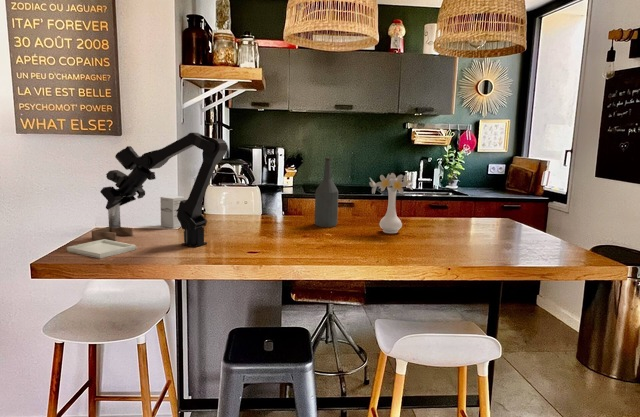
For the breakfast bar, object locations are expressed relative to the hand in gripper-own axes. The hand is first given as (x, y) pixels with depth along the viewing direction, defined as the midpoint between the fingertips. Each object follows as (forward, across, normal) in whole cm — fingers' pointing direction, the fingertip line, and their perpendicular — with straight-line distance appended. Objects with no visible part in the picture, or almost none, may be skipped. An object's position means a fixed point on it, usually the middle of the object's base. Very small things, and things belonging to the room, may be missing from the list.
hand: (110, 207), depth 173 cm
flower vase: (-61, -48, +78) cm, 110 cm away
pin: (+4, 0, +6) cm, 7 cm away
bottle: (-41, -53, +58) cm, 88 cm away
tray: (+1, +18, +15) cm, 23 cm away
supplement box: (+1, -27, +15) cm, 31 cm away
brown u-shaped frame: (+7, 0, +8) cm, 11 cm away
